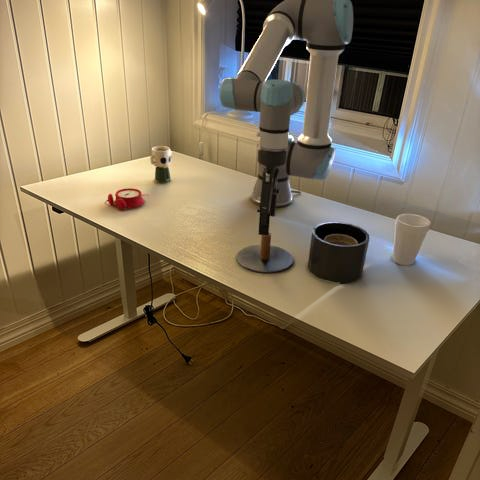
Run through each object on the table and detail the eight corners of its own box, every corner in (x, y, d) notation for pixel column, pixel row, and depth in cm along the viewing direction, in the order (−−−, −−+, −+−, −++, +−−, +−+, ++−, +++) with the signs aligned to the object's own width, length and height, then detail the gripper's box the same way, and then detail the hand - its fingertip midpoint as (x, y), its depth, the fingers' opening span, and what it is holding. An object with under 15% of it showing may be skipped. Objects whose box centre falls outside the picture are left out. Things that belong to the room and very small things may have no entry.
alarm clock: (151, 193, 173) (116, 194, 163) (149, 210, 176) (114, 212, 165) (134, 185, 179) (99, 186, 168) (132, 202, 182) (97, 204, 171)
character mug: (158, 187, 189) (156, 153, 182) (146, 182, 193) (144, 149, 185) (178, 180, 196) (177, 147, 189) (167, 176, 200) (165, 143, 192)
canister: (325, 252, 149) (331, 217, 142) (371, 269, 141) (379, 233, 134) (296, 270, 139) (300, 233, 132) (344, 290, 131) (351, 252, 124)
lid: (260, 243, 152) (261, 217, 147) (303, 260, 144) (307, 234, 139) (224, 261, 142) (224, 234, 137) (269, 281, 133) (271, 253, 128)
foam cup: (401, 270, 141) (412, 229, 134) (380, 256, 148) (389, 216, 140) (425, 263, 145) (437, 223, 137) (404, 250, 152) (414, 211, 144)
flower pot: (352, 278, 135) (358, 250, 130) (319, 274, 137) (323, 246, 132) (352, 262, 143) (357, 236, 138) (320, 259, 144) (324, 232, 139)
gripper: (265, 134, 134) (260, 206, 146) (250, 160, 114) (246, 241, 126) (291, 136, 133) (284, 209, 145) (281, 163, 113) (274, 245, 125)
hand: (266, 224), depth 136 cm, fingers open, 13 cm apart
